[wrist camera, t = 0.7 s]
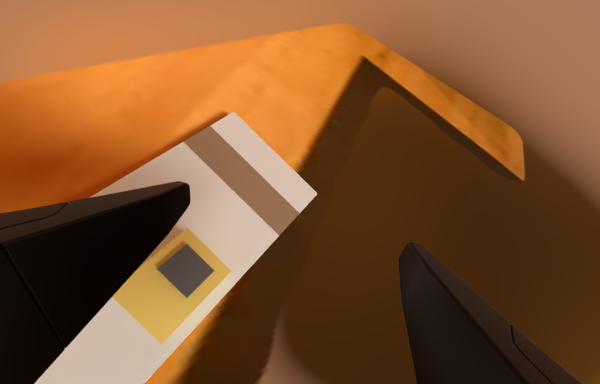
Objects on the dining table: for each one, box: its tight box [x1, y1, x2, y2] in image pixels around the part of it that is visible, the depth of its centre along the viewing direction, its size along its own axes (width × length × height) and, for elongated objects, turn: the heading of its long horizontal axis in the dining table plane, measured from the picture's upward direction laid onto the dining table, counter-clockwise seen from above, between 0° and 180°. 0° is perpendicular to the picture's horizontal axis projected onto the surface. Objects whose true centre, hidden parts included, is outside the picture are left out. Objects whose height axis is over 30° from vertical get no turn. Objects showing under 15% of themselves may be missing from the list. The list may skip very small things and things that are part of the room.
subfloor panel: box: [34, 112, 317, 384], centre depth 18 cm, size 24×12×1 cm, turn 139°
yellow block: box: [113, 228, 231, 345], centre depth 15 cm, size 5×4×4 cm
